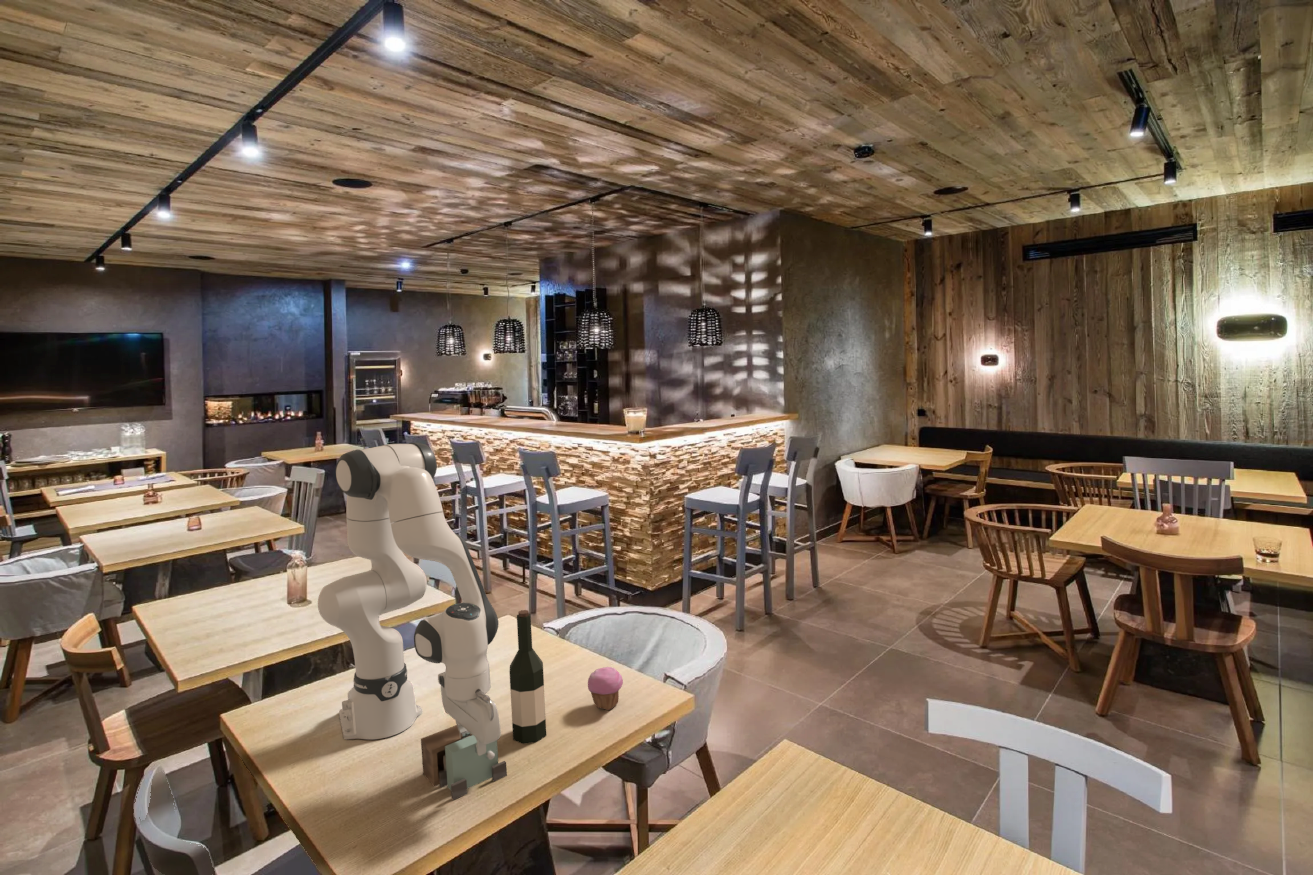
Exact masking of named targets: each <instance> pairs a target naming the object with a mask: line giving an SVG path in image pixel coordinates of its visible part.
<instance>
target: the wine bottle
mask: <svg viewBox="0 0 1313 875" xmlns="http://www.w3.org/2000/svg"><path fill="white" fill-rule="evenodd" d="M529 612H530V611H529V610H527V609H524V610H523V609H522V610H519V611H518V614H516V626H517V627H516V628H517V645H518V646H517V647H518V650H517V651H516V653H515V656H514V658H513V659H512V661H511V663H510V665H509V671H508V672H509V687H510V688H509V690H510V691H509V692H510V706H511V708H510V709H511V725H512V740H513V741H514V742H517V743H520V744H522V745H525V744H532V743H533V744H534V743H538V742H540V740H542V739H544V738H545V737H547V721H546V720H547V718H546V716H547V715H546V703H545V702H546V701H545V697H546V696H545V680H544V662H543V660H542V659H541V658H540V655H538V653H537V652H536V651H535V650H534V648H533V637H532V636H533V634H532V620H531V619H532V616H531V613H529Z"/></svg>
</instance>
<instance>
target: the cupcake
mask: <svg viewBox="0 0 1313 875" xmlns="http://www.w3.org/2000/svg"><path fill="white" fill-rule="evenodd" d="M623 680H624V679H623V676H622V674H621V673H620V672H619V671H618V670H617V669H616V668H615V667H612V666H603V667H600V668H597V669H595V670H594V671H593V672H590V675H589V677H588V678H587V689H588V691H589V692H590V693H591V698H592V701H593V703H594V705H595V706H596V707H597V709H603V710H606V711H609V710H612V709H613V708H614V707H615V706H617V704H618V703H619V700H620V699H619V697H620V696H619V691H620V689H621V688H622V687H623V684H624V681H623Z"/></svg>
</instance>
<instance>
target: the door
mask: <svg viewBox="0 0 1313 875" xmlns="http://www.w3.org/2000/svg"><path fill="white" fill-rule="evenodd" d="M475 745H477V740H476V737H475V736H473V735H472V736H469V737H467V738H464V739H462V740H459V741H457V742H454V743H452V744H449V745H447V746H445V755H446V770H447V785H446V786H447V788H448V789H449V791H451V784H453V783H455V782H457V781H460V780H462V779H464V778H465V779H466V780H467V790H468V789H470V788H472V787H474V786H476V785H478V784H480V783H483V782H485V781H487V780H490V779H491V778H492V766H494V765H496V764H498V763H499V751H498V740H496V741H494V742H492V743H489V744H486V753H485V754H483V755H480V756H479V755H478V754H477V753H476V752H475Z"/></svg>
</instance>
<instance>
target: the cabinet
mask: <svg viewBox="0 0 1313 875" xmlns="http://www.w3.org/2000/svg"><path fill="white" fill-rule="evenodd" d="M470 736H472V734H471V733H470ZM459 740H461V739H460V733H459V730H458V727H457V724H456V725H453V726H451V727H447V728H445V729H442V730H439V731H438V732H435V733H432V734H430V735H428V736H427V735H426V736H423V737H422V738H420V747H421V758H422V759H421V760H422V761H421V762H422V763H421V764H422V775H423V776H424V777H425V778H426V780H428V781H429V782H430V783H431V784H432V786H433V787H436V786H440V787H441V788H442V787H446V786H447V770H446V755H445V746H447V745H449V744H452V743H454V742H457V741H459ZM507 770H508V769H507V762H506V761H505V760H502V761H501V762H498V764H496V765H494V766H492V779H491V780H492V781H493V782H496V781H498V780H500V779H503V778H505V777H507V776H508V772H507ZM450 793H451V800H452V801H455V800H457V799H459V798H461V797H463V796H466V795H468V789H467V780H466V779H465V778H464V779H462V780H460V781H457V782H455V783H453V784H451V790H450Z"/></svg>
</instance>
